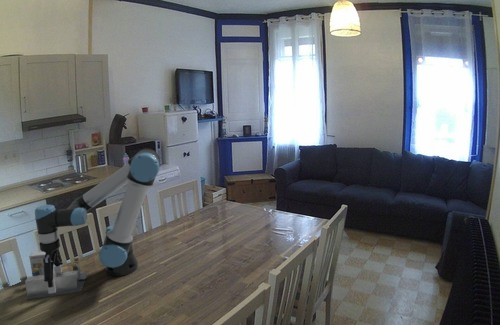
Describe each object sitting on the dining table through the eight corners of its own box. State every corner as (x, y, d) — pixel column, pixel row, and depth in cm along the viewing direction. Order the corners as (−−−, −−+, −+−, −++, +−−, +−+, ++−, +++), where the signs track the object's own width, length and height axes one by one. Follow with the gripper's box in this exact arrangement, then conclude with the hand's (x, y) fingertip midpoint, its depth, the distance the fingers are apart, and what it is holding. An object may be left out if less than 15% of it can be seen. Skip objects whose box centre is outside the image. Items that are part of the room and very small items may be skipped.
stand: (87, 274, 166) (85, 256, 164) (85, 280, 160) (82, 262, 158) (32, 281, 160) (29, 263, 158) (27, 289, 154) (24, 270, 152)
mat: (84, 281, 159) (84, 280, 159) (81, 291, 152) (81, 290, 152) (32, 289, 154) (32, 288, 154) (25, 299, 146) (25, 298, 146)
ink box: (32, 278, 163) (28, 255, 160) (35, 273, 167) (31, 251, 165) (51, 275, 165) (48, 253, 162) (54, 270, 170) (51, 248, 167)
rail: (79, 283, 157) (77, 270, 155) (77, 288, 153) (75, 274, 152) (30, 290, 152) (28, 276, 150) (27, 296, 148) (24, 281, 146)
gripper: (47, 230, 157) (53, 273, 162) (30, 253, 136) (38, 302, 140) (65, 228, 159) (71, 271, 164) (51, 250, 138) (58, 299, 142)
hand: (55, 285), depth 152 cm, fingers open, 10 cm apart
